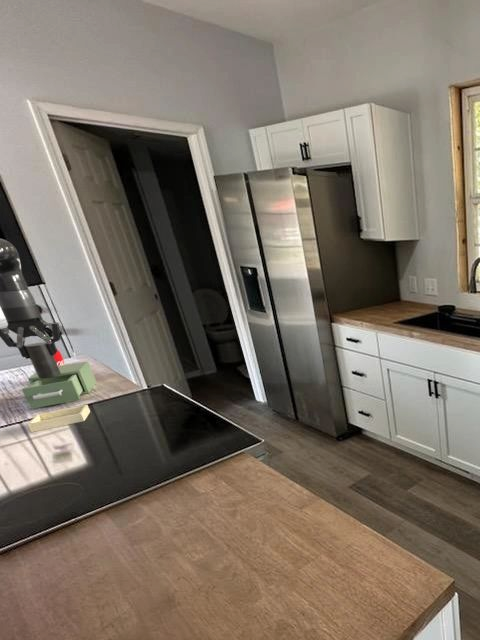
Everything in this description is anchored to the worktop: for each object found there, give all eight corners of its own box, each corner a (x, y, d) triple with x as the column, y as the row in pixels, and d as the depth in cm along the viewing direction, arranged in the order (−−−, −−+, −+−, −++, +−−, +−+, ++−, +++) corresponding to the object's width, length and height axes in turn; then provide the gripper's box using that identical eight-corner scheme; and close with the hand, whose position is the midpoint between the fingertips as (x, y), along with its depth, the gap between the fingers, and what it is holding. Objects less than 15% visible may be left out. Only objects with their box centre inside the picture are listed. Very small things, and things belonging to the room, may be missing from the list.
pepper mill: (36, 379, 134) (21, 347, 130) (41, 375, 138) (27, 344, 134) (59, 376, 137) (45, 344, 133) (62, 372, 141) (49, 341, 137)
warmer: (89, 393, 147) (79, 370, 144) (39, 402, 140) (27, 378, 137) (96, 382, 158) (87, 361, 155) (50, 390, 152) (40, 368, 148)
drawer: (76, 403, 135) (68, 384, 133) (26, 413, 129) (16, 393, 127) (87, 388, 149) (80, 371, 147) (43, 396, 143) (34, 378, 140)
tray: (31, 432, 118) (27, 424, 117) (40, 421, 125) (36, 414, 124) (84, 421, 124) (81, 413, 123) (90, 411, 131) (87, 404, 130)
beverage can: (68, 379, 164) (55, 350, 160) (46, 382, 161) (32, 353, 156) (72, 375, 169) (60, 346, 164) (51, 378, 165) (38, 349, 161)
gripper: (53, 301, 136) (74, 350, 142) (-12, 306, 128) (13, 358, 134) (47, 303, 130) (68, 354, 136) (-21, 309, 123) (5, 363, 128)
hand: (41, 356), depth 135 cm, fingers closed on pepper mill, 5 cm apart
